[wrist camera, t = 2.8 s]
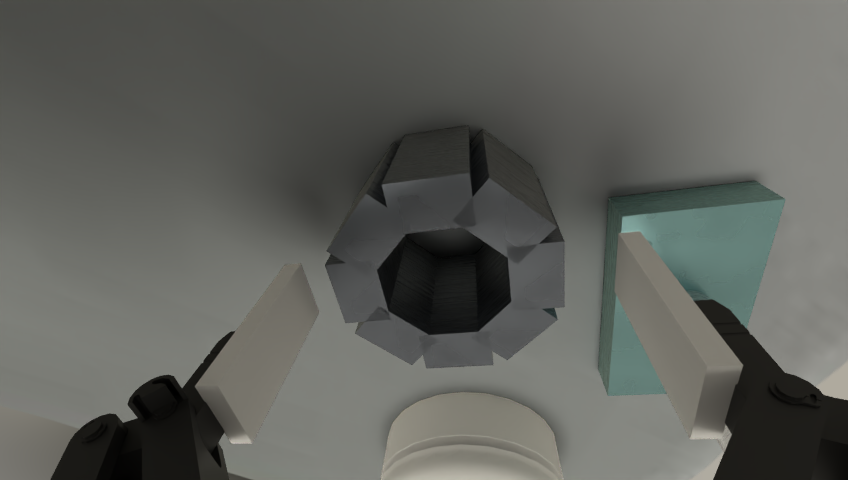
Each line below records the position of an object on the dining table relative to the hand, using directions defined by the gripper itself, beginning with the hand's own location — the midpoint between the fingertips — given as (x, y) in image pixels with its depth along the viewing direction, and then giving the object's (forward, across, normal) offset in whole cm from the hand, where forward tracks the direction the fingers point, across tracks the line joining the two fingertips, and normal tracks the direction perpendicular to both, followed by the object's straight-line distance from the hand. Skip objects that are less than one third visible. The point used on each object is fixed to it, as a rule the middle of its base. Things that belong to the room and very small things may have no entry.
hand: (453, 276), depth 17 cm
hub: (+5, 0, 0) cm, 5 cm away
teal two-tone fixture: (+5, +11, -6) cm, 13 cm away
